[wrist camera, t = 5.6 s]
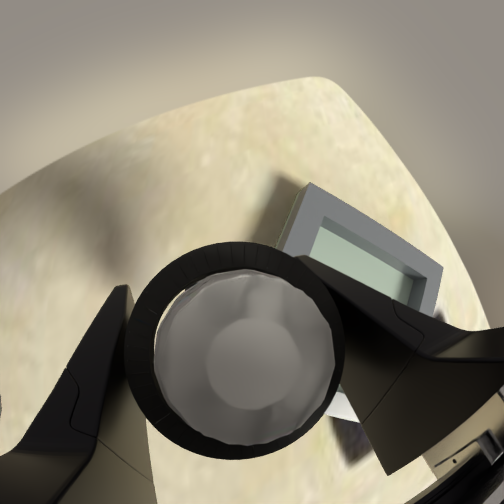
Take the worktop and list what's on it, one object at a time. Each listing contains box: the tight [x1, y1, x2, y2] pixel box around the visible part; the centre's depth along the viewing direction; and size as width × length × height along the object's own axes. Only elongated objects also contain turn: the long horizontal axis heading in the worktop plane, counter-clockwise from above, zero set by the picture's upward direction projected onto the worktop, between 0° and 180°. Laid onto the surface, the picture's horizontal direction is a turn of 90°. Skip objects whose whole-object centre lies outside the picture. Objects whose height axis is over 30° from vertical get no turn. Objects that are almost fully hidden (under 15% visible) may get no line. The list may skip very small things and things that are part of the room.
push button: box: [124, 242, 345, 460], centre depth 10 cm, size 7×5×10 cm
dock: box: [275, 182, 443, 422], centre depth 23 cm, size 16×16×3 cm
